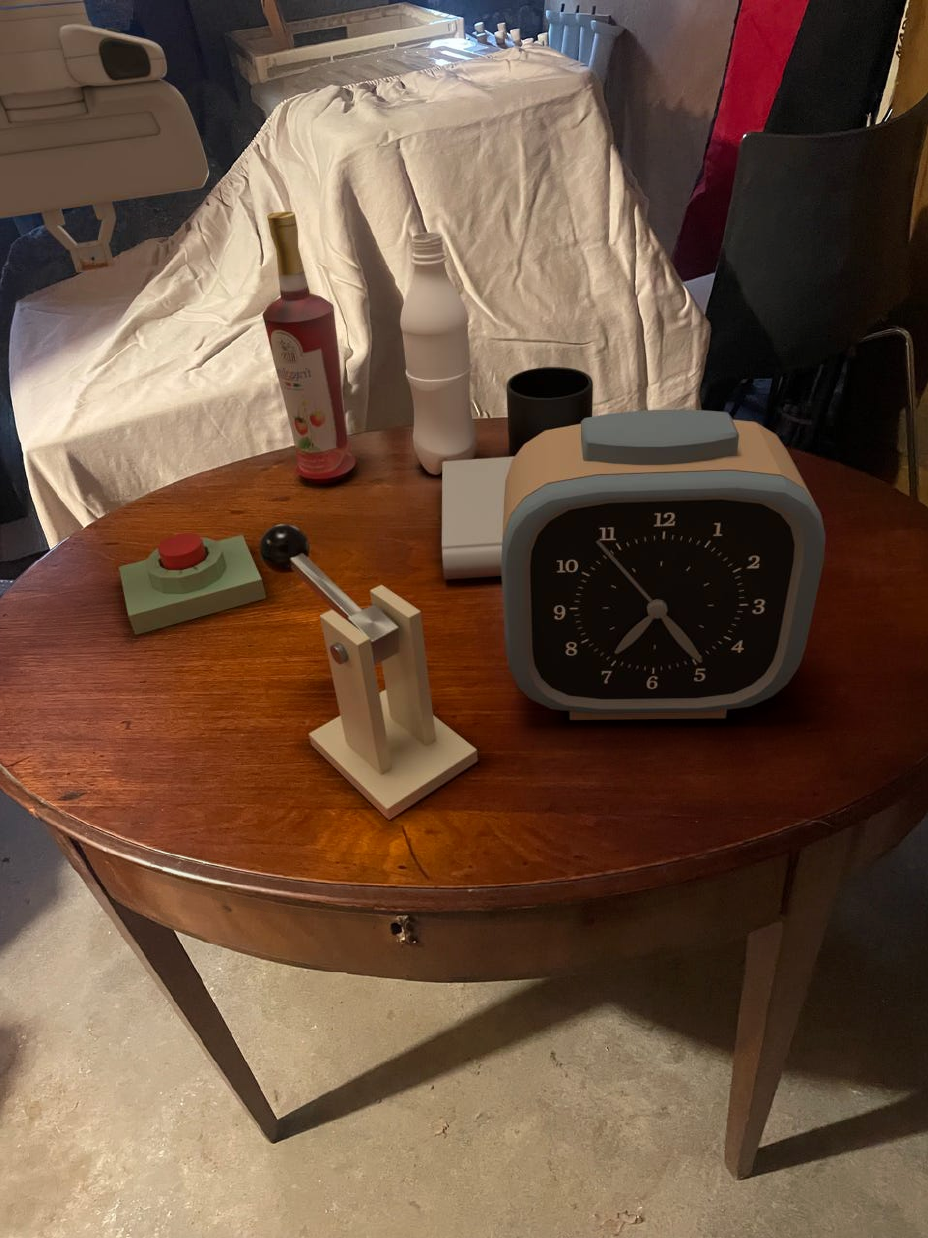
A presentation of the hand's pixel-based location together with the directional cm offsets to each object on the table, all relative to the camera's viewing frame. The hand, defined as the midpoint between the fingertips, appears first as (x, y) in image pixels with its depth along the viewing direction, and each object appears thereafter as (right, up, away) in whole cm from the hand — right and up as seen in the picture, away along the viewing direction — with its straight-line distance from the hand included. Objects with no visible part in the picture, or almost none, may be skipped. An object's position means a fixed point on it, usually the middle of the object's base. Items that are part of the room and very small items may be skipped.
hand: (95, 268), depth 69 cm
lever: (+19, -27, -6) cm, 33 cm away
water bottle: (+27, -10, +33) cm, 44 cm away
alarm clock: (+43, -33, 0) cm, 54 cm away
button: (+3, -22, +13) cm, 26 cm away
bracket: (+24, -37, -4) cm, 44 cm away
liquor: (+13, -11, +33) cm, 37 cm away
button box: (+3, -25, +15) cm, 29 cm away
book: (+39, -18, +20) cm, 47 cm away
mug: (+38, -8, +34) cm, 51 cm away
